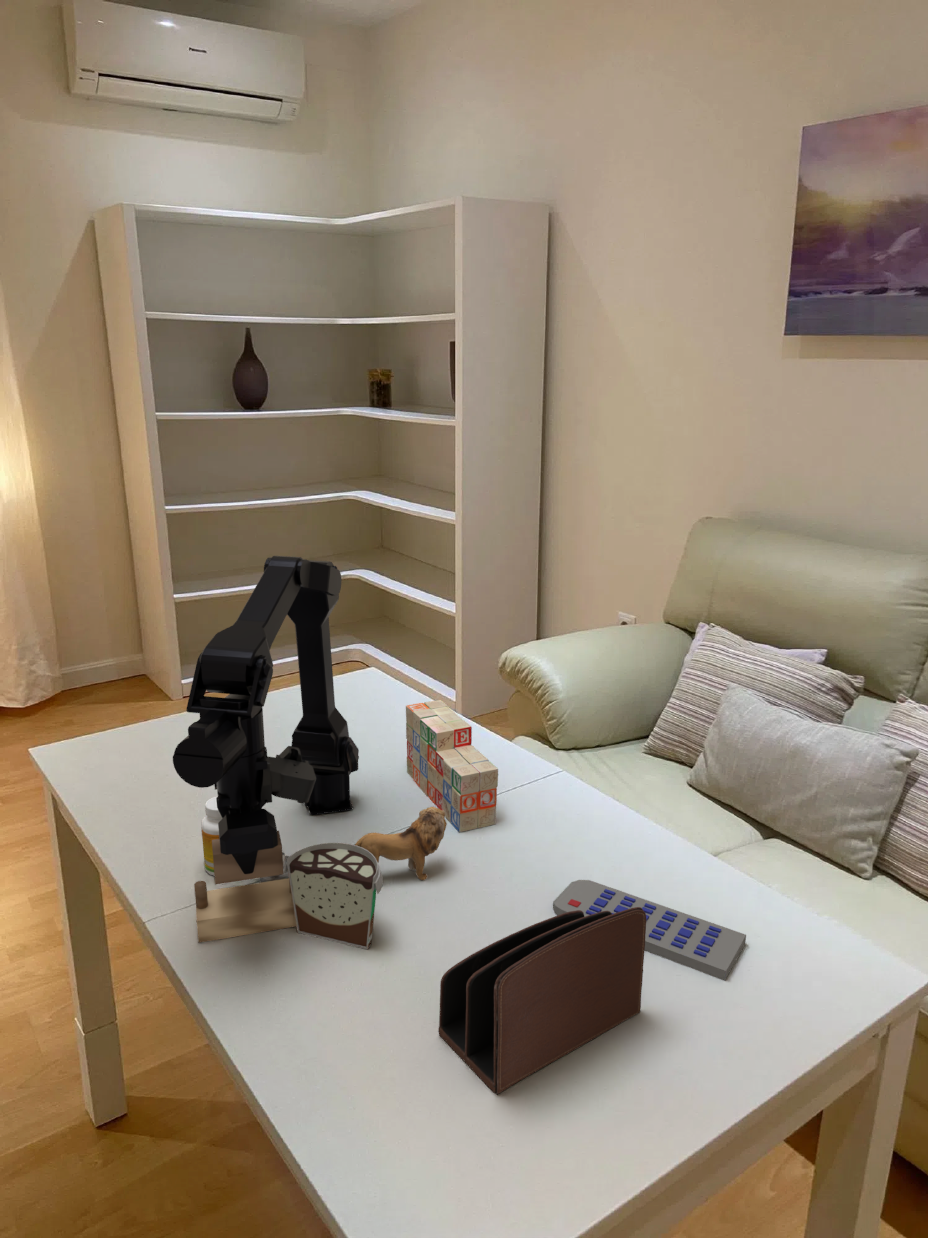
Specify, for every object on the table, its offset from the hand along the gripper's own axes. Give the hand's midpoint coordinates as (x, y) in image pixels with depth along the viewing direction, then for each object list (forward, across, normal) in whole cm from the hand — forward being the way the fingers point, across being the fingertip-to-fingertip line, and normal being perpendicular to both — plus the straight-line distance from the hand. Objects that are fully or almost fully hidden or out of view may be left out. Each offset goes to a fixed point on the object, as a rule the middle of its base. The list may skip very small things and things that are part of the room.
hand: (247, 864), depth 111 cm
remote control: (+8, -15, -47) cm, 50 cm away
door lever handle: (+8, +9, -4) cm, 13 cm away
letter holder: (+8, -27, -28) cm, 40 cm away
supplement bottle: (+8, +13, +2) cm, 15 cm away
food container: (+8, -5, -11) cm, 14 cm away
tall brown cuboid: (+1, 0, 0) cm, 1 cm away
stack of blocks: (+8, +24, -32) cm, 41 cm away
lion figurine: (+8, +5, -20) cm, 22 cm away
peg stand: (+8, 0, 0) cm, 8 cm away
